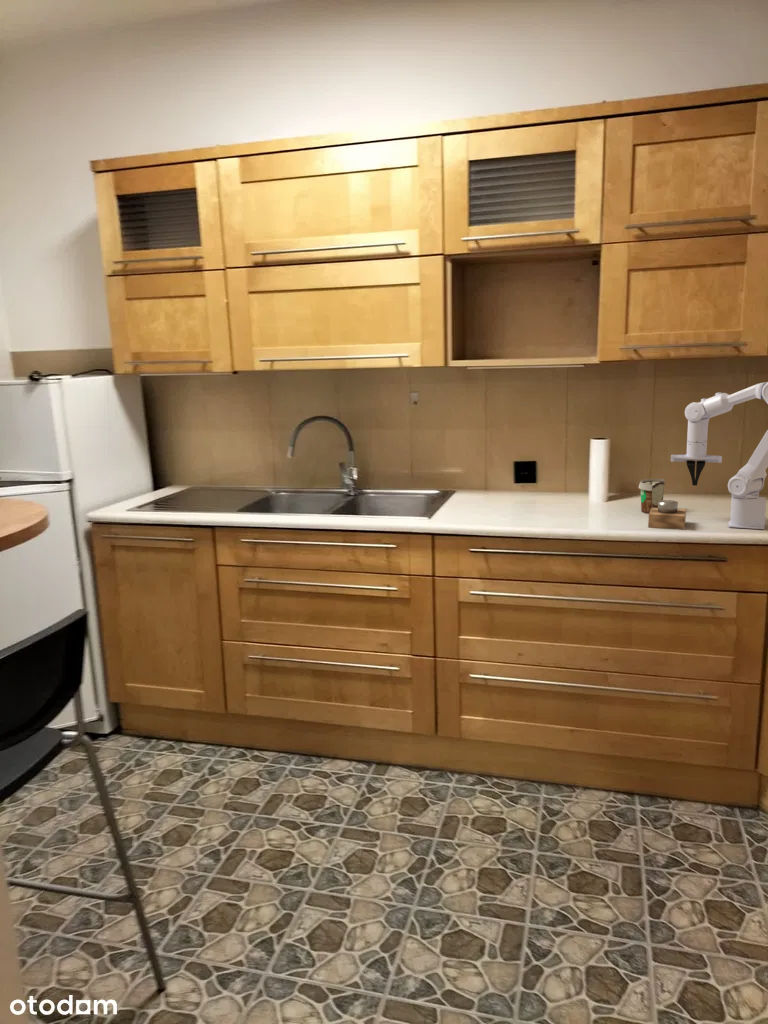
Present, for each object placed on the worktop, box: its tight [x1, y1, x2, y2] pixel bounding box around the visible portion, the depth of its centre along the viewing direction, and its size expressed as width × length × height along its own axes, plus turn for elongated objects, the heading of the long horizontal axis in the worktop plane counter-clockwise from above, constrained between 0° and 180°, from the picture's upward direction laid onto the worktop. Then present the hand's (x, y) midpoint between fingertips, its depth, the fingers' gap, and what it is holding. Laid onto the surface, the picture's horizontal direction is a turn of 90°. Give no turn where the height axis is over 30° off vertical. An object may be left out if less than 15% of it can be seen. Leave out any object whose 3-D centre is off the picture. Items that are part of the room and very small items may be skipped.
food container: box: [638, 478, 666, 515], centre depth 244 cm, size 12×6×10 cm, turn 141°
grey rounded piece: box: [658, 499, 679, 514], centre depth 225 cm, size 6×6×6 cm
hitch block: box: [647, 508, 687, 530], centre depth 225 cm, size 10×10×4 cm
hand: (694, 484), depth 231 cm, fingers closed
